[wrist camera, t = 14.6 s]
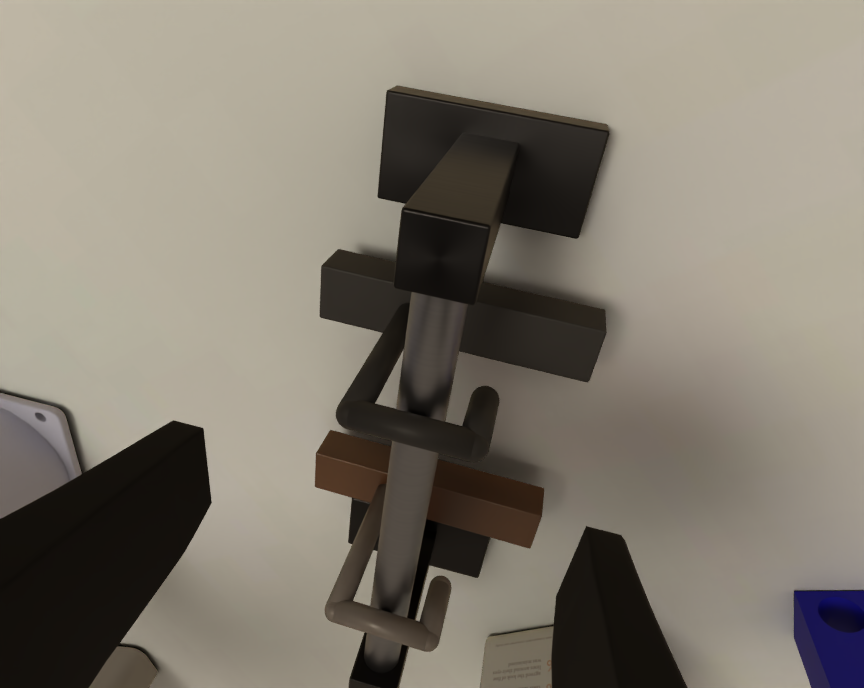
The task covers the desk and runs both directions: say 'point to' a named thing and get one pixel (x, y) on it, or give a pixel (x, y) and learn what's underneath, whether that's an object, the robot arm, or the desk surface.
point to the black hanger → (482, 335)
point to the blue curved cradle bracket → (831, 637)
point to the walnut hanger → (449, 504)
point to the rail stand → (454, 300)
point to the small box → (518, 660)
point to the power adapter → (126, 670)
